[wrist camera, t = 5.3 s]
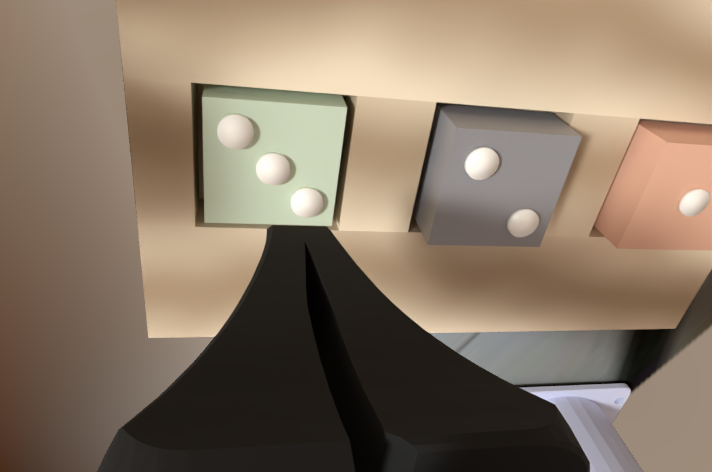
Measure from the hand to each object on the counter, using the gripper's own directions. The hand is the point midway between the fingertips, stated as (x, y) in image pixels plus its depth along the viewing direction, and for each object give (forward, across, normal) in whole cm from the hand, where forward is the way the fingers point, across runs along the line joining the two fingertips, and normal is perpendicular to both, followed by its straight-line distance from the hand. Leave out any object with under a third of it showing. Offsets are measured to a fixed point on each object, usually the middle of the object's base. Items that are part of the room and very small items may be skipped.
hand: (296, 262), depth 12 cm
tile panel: (+7, -7, 0) cm, 10 cm away
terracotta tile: (+6, -14, 0) cm, 15 cm away
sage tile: (+7, 0, 0) cm, 7 cm away
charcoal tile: (+6, -7, 0) cm, 9 cm away
